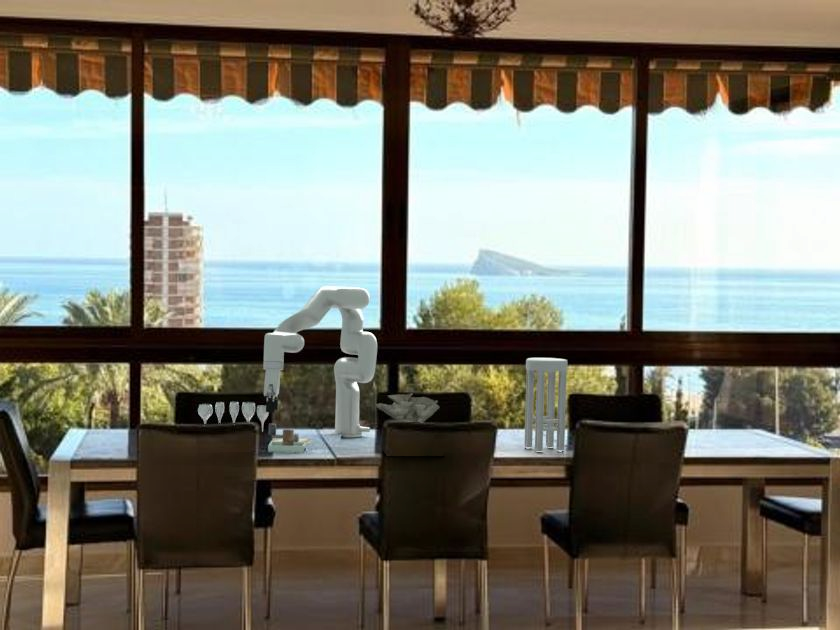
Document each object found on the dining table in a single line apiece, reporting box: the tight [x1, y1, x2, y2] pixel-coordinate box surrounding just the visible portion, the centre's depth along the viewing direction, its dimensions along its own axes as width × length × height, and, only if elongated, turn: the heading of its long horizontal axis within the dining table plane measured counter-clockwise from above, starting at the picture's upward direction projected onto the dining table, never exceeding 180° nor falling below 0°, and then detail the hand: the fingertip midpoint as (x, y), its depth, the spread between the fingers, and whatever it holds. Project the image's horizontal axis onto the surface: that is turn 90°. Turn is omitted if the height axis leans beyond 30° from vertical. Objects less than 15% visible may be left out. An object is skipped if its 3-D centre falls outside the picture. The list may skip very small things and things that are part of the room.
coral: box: [375, 392, 441, 424], centre depth 460 cm, size 25×20×22 cm
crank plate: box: [268, 438, 313, 446], centre depth 471 cm, size 15×15×2 cm
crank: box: [268, 423, 300, 442], centre depth 469 cm, size 11×4×6 cm, turn 90°
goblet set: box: [197, 401, 270, 433], centre depth 494 cm, size 28×6×13 cm, turn 93°
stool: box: [524, 357, 568, 452], centre depth 473 cm, size 16×16×35 cm
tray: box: [267, 440, 307, 454], centre depth 457 cm, size 13×10×2 cm
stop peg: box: [282, 428, 295, 446], centre depth 457 cm, size 4×4×7 cm
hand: (271, 411), depth 468 cm, fingers open, 9 cm apart
